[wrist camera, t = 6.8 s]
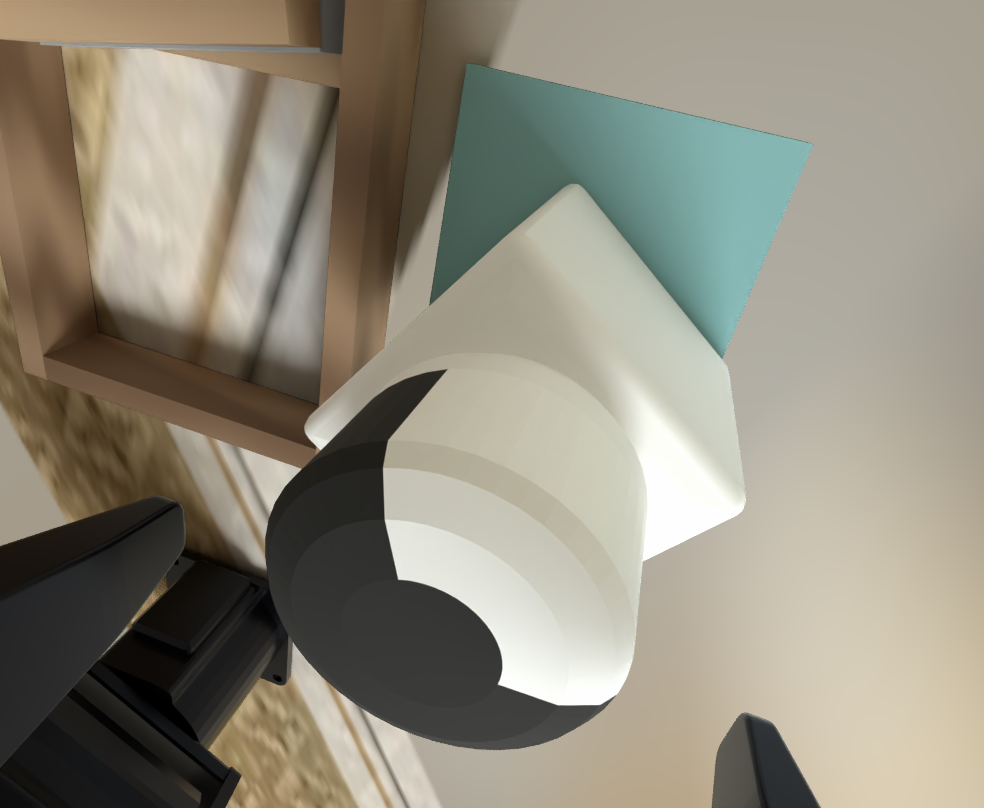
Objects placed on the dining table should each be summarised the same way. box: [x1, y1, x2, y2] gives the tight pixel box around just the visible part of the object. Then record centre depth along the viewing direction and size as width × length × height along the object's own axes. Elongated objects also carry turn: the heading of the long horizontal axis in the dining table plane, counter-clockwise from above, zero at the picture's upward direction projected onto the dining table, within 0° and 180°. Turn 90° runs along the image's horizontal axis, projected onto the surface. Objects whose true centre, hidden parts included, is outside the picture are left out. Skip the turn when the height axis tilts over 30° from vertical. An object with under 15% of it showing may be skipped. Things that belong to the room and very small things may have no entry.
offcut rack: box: [0, 0, 426, 469], centre depth 19 cm, size 20×13×2 cm, turn 169°
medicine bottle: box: [265, 184, 746, 750], centre depth 14 cm, size 7×7×12 cm
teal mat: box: [429, 63, 813, 359], centre depth 20 cm, size 14×9×1 cm, turn 169°
